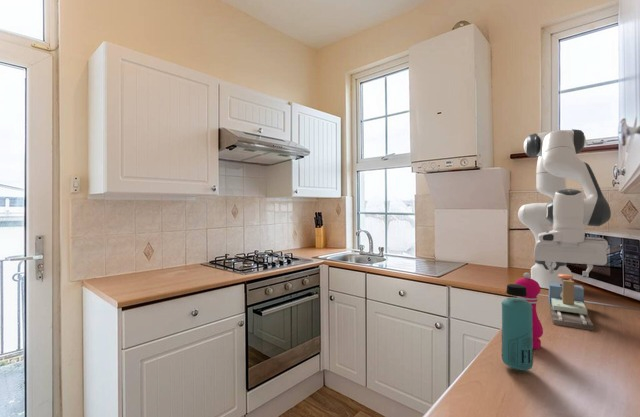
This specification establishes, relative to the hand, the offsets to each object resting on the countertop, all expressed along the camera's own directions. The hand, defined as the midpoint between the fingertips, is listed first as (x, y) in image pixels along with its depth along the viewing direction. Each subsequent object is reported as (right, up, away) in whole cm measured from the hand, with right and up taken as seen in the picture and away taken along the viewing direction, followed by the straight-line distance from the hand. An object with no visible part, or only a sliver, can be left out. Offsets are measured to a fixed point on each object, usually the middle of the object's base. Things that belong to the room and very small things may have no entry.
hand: (568, 275), depth 112 cm
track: (-2, -14, -3) cm, 14 cm away
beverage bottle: (-41, -15, -37) cm, 57 cm away
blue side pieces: (+5, -14, +8) cm, 16 cm away
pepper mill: (-30, -15, -23) cm, 40 cm away
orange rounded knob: (+5, -6, +8) cm, 11 cm away
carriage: (0, -11, 0) cm, 11 cm away
